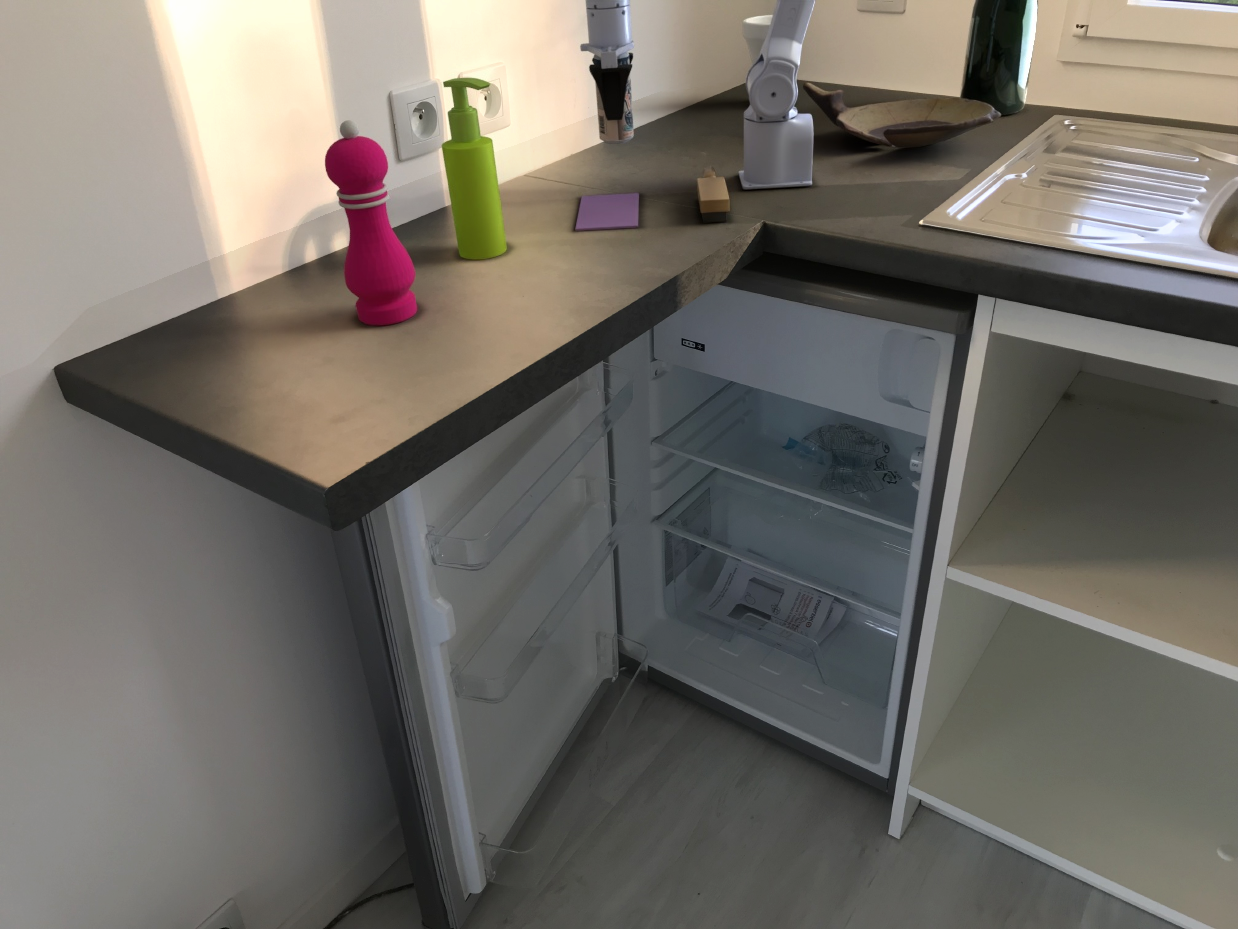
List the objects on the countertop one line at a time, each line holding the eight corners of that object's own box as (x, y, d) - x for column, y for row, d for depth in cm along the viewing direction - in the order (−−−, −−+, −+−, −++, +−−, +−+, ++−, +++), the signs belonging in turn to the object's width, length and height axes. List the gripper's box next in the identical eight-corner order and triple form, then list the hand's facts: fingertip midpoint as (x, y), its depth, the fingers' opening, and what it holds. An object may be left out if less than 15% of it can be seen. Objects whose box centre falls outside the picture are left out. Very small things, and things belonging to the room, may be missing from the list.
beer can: (630, 144, 128) (624, 50, 122) (596, 145, 129) (589, 51, 123) (637, 135, 132) (631, 43, 126) (604, 136, 133) (597, 45, 127)
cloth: (638, 194, 131) (638, 192, 131) (638, 227, 119) (637, 225, 119) (581, 198, 132) (581, 195, 131) (575, 230, 120) (575, 228, 120)
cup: (760, 94, 181) (761, 13, 173) (813, 98, 175) (816, 14, 168) (731, 107, 173) (731, 23, 166) (785, 111, 168) (788, 24, 160)
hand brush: (721, 186, 132) (721, 163, 130) (729, 222, 119) (729, 198, 117) (695, 187, 132) (695, 165, 131) (701, 223, 119) (700, 199, 117)
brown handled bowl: (919, 173, 131) (925, 116, 127) (780, 136, 153) (781, 86, 149) (1027, 143, 140) (1036, 89, 136) (881, 112, 162) (885, 65, 158)
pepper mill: (359, 304, 103) (316, 115, 93) (425, 298, 104) (389, 109, 93) (349, 331, 97) (301, 132, 87) (418, 324, 98) (380, 125, 87)
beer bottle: (1011, 119, 153) (1047, -119, 135) (948, 113, 158) (975, -116, 141) (1033, 105, 159) (1070, -124, 141) (972, 101, 165) (1000, -120, 147)
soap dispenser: (493, 263, 112) (468, 85, 101) (449, 255, 115) (420, 82, 104) (523, 247, 116) (501, 74, 105) (479, 240, 119) (454, 72, 108)
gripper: (580, 1, 128) (589, 105, 135) (573, 15, 116) (583, 129, 123) (632, -3, 128) (638, 102, 135) (630, 11, 115) (636, 125, 123)
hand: (615, 115), depth 129 cm, fingers closed on beer can, 5 cm apart
